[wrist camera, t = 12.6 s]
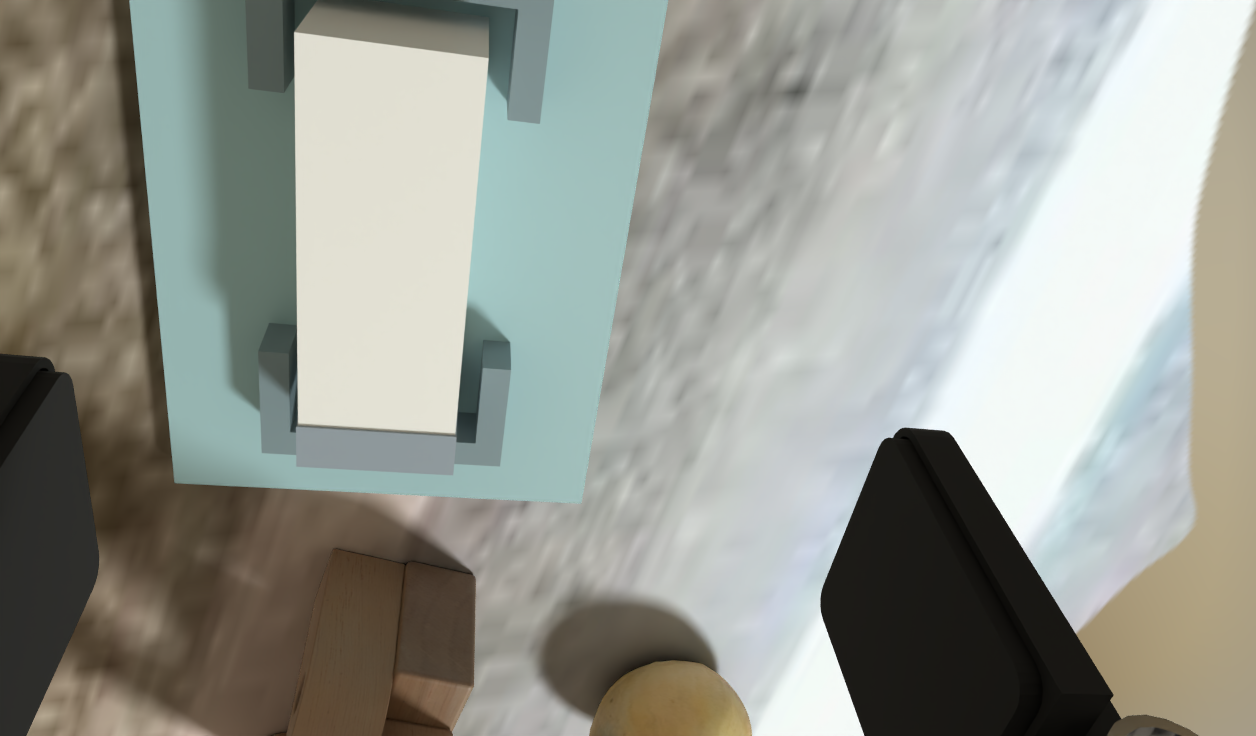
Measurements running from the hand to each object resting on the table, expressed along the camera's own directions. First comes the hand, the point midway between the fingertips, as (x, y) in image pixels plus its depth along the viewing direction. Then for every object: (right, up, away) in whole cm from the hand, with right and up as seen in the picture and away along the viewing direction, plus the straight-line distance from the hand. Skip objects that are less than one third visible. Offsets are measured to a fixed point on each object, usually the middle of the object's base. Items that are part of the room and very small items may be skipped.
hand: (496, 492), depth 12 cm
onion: (+3, -15, +38) cm, 41 cm away
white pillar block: (-6, +7, +22) cm, 24 cm away
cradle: (-7, +7, +23) cm, 25 cm away
